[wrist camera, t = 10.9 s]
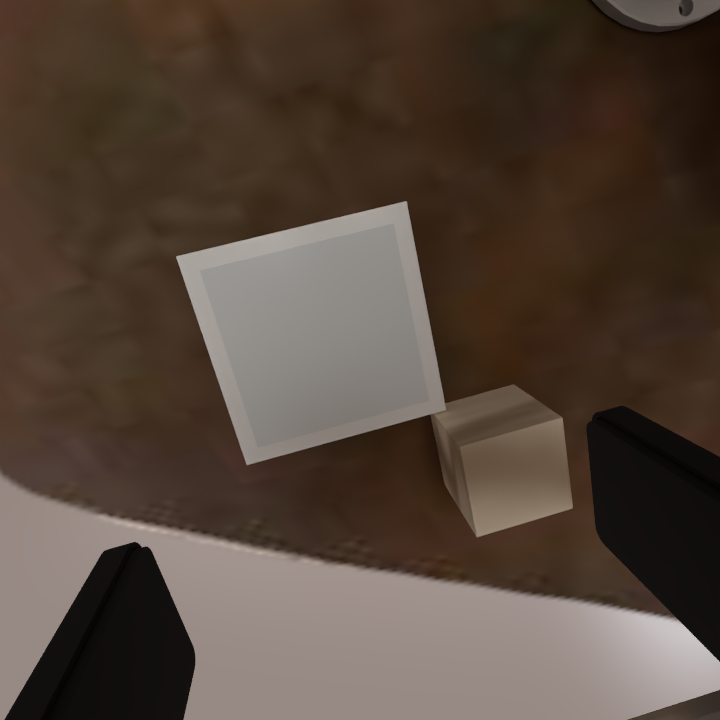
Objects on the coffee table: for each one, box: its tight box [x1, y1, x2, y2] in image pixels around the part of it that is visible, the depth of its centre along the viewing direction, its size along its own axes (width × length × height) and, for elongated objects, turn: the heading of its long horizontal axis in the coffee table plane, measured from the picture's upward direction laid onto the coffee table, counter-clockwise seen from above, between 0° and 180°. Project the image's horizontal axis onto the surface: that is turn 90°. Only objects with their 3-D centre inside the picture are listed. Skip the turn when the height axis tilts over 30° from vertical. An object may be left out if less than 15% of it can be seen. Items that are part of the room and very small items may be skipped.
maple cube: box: [430, 384, 573, 537], centre depth 29 cm, size 6×6×6 cm
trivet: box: [176, 201, 446, 465], centre depth 28 cm, size 13×13×1 cm
